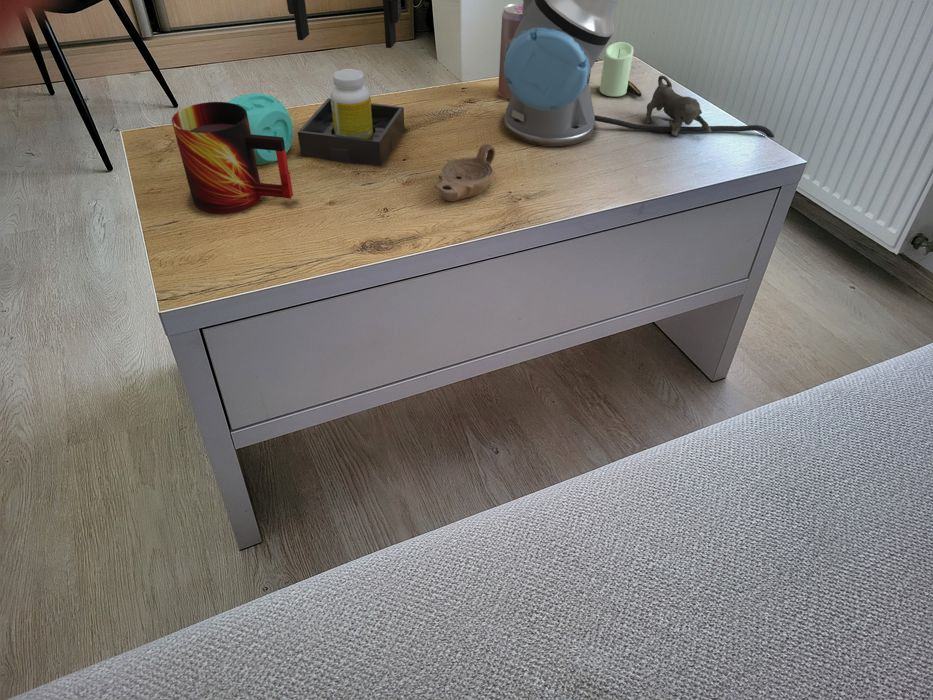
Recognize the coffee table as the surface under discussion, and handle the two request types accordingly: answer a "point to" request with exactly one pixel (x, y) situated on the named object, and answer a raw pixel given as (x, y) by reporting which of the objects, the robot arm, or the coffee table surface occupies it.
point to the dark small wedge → (633, 89)
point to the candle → (616, 69)
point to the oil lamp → (466, 175)
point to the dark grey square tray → (378, 128)
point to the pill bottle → (351, 105)
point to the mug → (225, 158)
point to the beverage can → (508, 41)
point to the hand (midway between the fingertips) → (346, 41)
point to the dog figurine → (675, 107)
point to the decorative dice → (266, 122)
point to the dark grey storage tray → (356, 147)
